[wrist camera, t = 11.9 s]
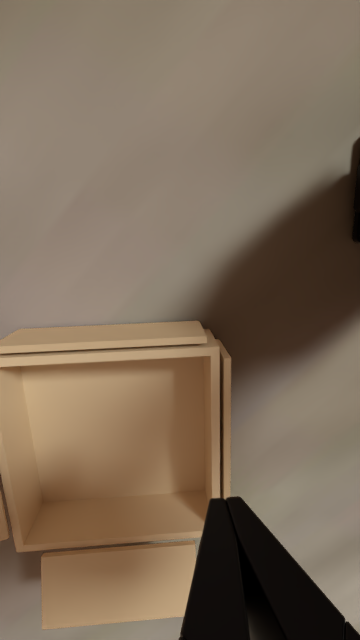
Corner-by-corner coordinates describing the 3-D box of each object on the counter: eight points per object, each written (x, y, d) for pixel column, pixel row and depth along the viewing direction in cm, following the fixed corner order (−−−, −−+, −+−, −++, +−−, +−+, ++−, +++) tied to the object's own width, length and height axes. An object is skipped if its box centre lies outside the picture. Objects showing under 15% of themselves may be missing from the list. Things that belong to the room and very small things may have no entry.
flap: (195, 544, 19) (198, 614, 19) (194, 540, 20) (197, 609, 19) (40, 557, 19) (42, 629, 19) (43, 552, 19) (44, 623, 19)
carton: (218, 319, 20) (231, 335, 17) (219, 489, 24) (229, 534, 20) (9, 328, 20) (-26, 347, 16) (39, 503, 23) (16, 552, 19)
